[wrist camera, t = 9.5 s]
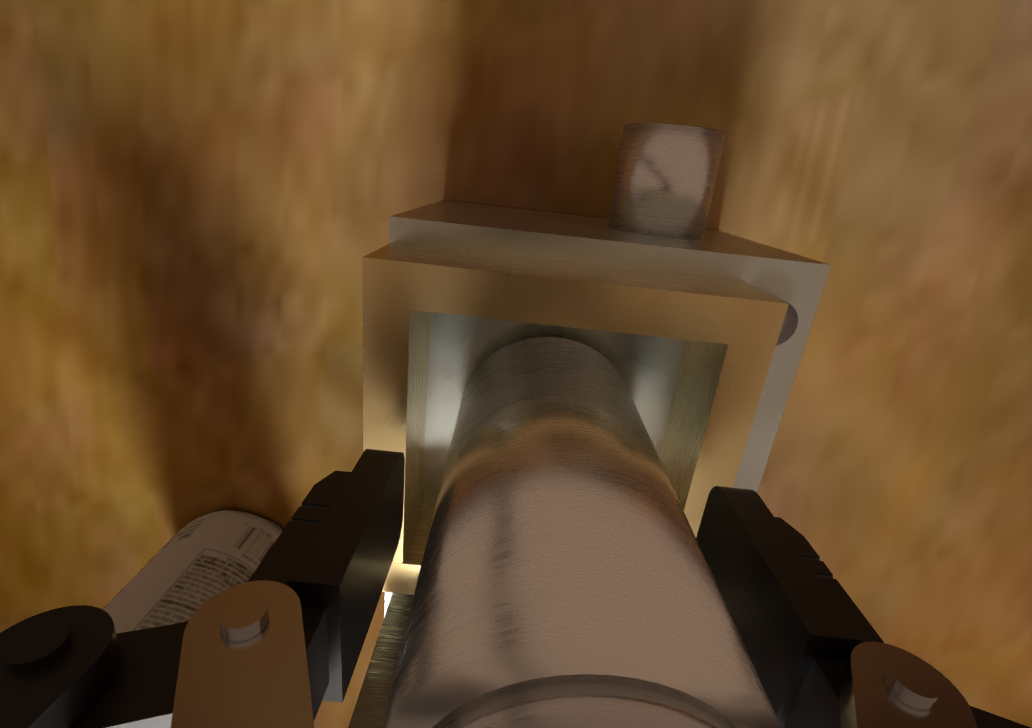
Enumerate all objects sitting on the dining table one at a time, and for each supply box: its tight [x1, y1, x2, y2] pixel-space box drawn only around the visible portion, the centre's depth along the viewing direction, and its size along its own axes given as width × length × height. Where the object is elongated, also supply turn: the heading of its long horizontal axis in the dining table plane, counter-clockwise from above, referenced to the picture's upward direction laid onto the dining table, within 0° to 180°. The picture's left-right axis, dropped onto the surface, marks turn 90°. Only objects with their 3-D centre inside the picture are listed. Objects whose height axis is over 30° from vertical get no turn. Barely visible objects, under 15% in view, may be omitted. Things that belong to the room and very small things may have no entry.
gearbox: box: [348, 123, 831, 728], centre depth 16 cm, size 17×11×13 cm, turn 174°
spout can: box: [382, 337, 782, 728], centre depth 9 cm, size 5×5×11 cm
